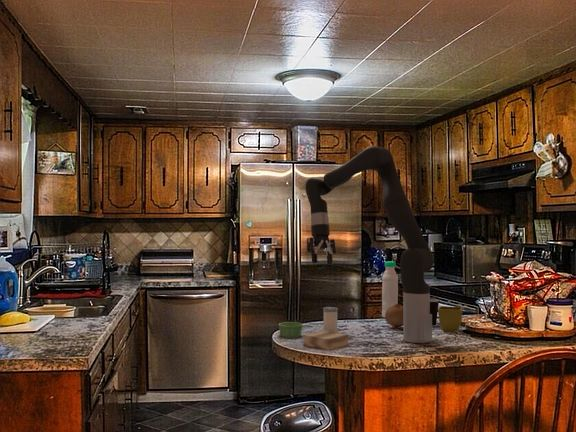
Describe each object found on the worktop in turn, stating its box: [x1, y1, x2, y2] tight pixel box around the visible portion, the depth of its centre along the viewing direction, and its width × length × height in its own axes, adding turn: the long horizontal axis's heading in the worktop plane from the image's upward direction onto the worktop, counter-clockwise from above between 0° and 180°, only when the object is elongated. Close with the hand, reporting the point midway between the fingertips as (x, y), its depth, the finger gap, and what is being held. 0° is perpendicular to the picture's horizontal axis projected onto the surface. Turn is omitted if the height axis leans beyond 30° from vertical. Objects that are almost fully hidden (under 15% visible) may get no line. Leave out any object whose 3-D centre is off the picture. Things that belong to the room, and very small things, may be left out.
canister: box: [322, 306, 339, 333], centre depth 202 cm, size 5×5×11 cm
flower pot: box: [437, 305, 463, 333], centre depth 217 cm, size 9×9×9 cm
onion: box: [384, 303, 403, 329], centre depth 222 cm, size 10×9×10 cm
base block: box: [302, 329, 349, 351], centre depth 190 cm, size 11×11×4 cm
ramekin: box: [278, 321, 304, 339], centre depth 206 cm, size 9×9×4 cm
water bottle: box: [381, 261, 399, 319], centre depth 248 cm, size 7×7×25 cm
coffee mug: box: [430, 298, 440, 327], centre depth 232 cm, size 12×9×10 cm
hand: (322, 263), depth 226 cm, fingers open, 8 cm apart
